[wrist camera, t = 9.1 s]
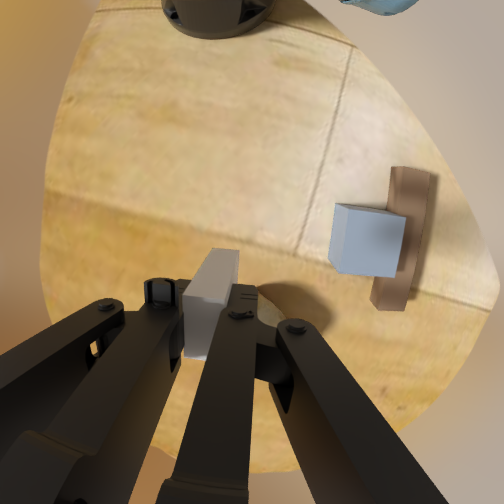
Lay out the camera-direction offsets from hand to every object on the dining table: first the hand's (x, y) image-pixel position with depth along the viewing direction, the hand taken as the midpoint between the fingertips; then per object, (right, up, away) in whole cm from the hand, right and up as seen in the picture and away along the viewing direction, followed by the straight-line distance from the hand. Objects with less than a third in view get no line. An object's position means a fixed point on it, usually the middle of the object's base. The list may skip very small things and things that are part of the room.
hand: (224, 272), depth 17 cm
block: (+15, +3, +19) cm, 25 cm away
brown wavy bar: (+20, +3, +19) cm, 28 cm away
